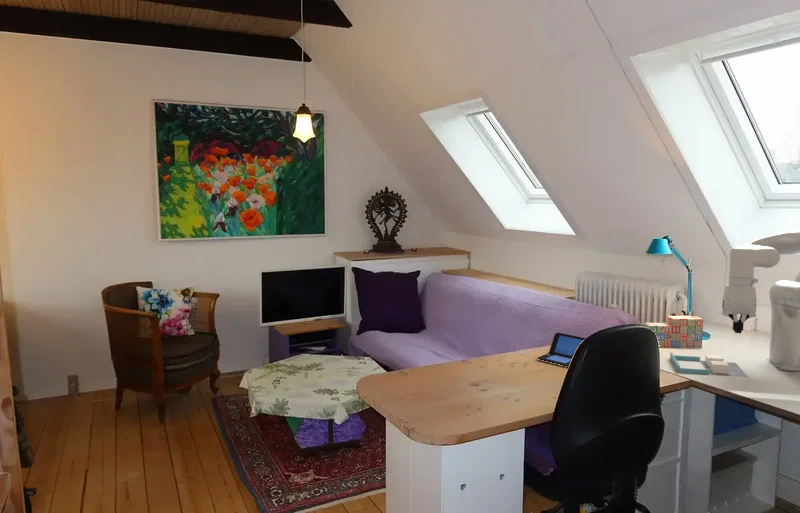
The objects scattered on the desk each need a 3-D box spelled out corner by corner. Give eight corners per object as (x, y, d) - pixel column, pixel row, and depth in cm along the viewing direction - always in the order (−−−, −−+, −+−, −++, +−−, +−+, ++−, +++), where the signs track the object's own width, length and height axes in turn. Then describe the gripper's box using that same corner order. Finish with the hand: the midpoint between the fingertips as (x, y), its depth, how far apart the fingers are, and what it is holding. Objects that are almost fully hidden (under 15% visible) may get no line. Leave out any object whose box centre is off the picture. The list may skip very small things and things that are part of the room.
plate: (735, 366, 215) (735, 362, 214) (748, 381, 198) (748, 376, 198) (699, 364, 218) (699, 360, 218) (709, 378, 202) (709, 374, 202)
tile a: (720, 363, 214) (720, 355, 213) (723, 367, 210) (723, 358, 209) (705, 362, 215) (705, 354, 215) (707, 366, 211) (708, 358, 211)
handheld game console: (536, 361, 227) (536, 337, 226) (555, 354, 236) (555, 331, 235) (571, 369, 216) (571, 345, 215) (590, 362, 225) (591, 338, 224)
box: (699, 364, 218) (699, 354, 218) (709, 378, 202) (709, 367, 201) (670, 362, 221) (670, 352, 220) (677, 376, 205) (677, 365, 204)
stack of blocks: (648, 347, 243) (649, 318, 241) (643, 343, 249) (644, 315, 247) (702, 348, 241) (703, 318, 239) (696, 344, 247) (697, 315, 245)
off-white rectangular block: (725, 369, 206) (726, 361, 206) (728, 373, 202) (729, 365, 202) (709, 369, 208) (710, 360, 207) (712, 372, 203) (713, 364, 203)
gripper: (761, 281, 208) (758, 331, 210) (714, 279, 213) (712, 328, 214) (768, 284, 201) (764, 336, 203) (719, 282, 205) (716, 333, 207)
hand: (737, 332), depth 209 cm, fingers closed
